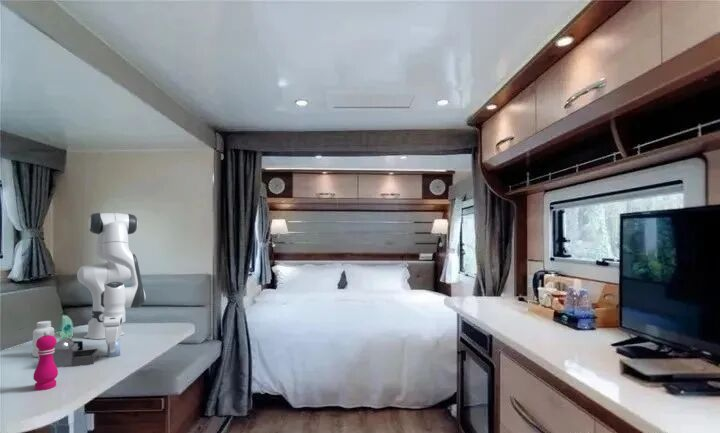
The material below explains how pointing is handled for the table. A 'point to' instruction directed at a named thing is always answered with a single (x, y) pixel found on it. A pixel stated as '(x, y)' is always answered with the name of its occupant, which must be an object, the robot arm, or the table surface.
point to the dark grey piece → (72, 354)
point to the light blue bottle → (117, 350)
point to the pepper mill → (45, 363)
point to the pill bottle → (41, 334)
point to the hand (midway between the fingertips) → (114, 349)
